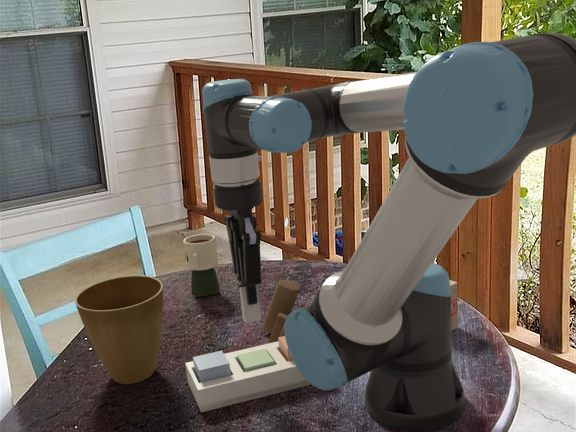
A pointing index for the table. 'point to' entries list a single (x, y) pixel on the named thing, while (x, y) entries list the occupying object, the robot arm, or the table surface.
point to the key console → (245, 380)
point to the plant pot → (124, 324)
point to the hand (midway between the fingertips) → (252, 319)
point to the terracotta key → (284, 349)
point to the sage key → (255, 360)
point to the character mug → (202, 263)
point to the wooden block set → (280, 308)
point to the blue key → (211, 366)
